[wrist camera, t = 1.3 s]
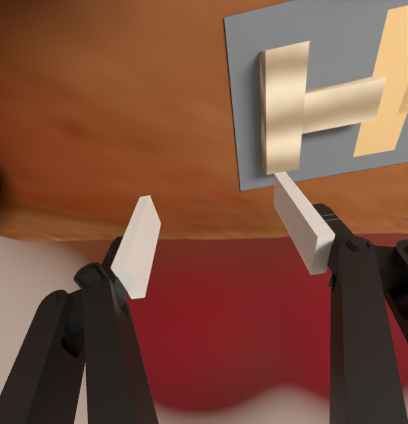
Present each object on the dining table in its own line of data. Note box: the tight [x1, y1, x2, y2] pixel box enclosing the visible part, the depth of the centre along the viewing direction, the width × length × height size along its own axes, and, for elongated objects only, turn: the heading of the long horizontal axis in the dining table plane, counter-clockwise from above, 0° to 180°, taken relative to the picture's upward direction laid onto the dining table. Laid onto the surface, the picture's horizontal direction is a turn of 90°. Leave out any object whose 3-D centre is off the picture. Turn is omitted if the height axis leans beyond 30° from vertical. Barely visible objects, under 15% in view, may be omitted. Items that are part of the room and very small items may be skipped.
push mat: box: [224, 0, 408, 191], centre depth 30 cm, size 24×36×1 cm, turn 100°
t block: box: [259, 41, 387, 175], centre depth 30 cm, size 16×15×3 cm
